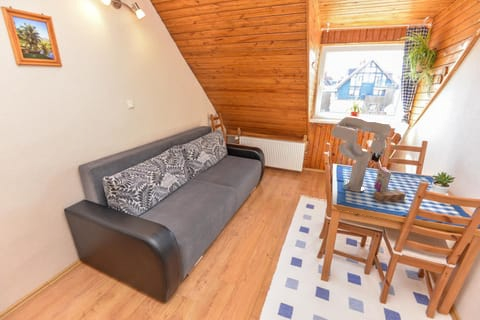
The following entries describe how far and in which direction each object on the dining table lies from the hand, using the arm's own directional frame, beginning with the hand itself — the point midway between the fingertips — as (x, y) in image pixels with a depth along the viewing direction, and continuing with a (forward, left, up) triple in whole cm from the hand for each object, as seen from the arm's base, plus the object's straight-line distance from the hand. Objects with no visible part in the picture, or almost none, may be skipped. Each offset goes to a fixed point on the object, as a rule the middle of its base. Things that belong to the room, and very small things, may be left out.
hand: (374, 160), depth 175 cm
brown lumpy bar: (-5, -25, -20) cm, 33 cm away
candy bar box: (0, -11, -19) cm, 23 cm away
